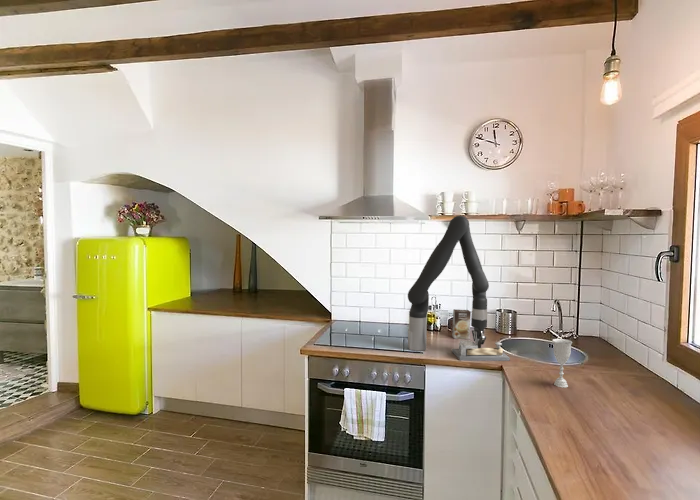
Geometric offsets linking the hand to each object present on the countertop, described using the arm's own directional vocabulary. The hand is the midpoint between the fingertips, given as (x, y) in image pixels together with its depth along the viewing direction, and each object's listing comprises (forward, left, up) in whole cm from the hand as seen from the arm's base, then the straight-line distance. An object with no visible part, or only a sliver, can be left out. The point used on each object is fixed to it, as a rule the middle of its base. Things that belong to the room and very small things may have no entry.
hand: (478, 351), depth 194 cm
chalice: (+21, -37, -2) cm, 43 cm away
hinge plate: (+1, 0, -2) cm, 2 cm away
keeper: (-7, -3, -2) cm, 8 cm away
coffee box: (+2, +34, -2) cm, 34 cm away
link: (+2, -4, 0) cm, 4 cm away
